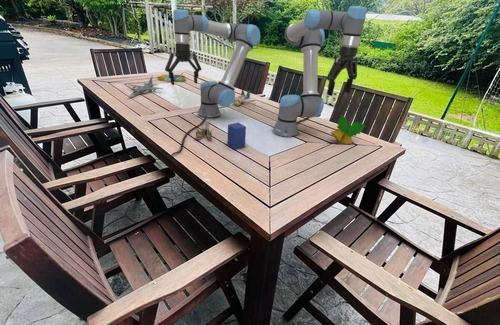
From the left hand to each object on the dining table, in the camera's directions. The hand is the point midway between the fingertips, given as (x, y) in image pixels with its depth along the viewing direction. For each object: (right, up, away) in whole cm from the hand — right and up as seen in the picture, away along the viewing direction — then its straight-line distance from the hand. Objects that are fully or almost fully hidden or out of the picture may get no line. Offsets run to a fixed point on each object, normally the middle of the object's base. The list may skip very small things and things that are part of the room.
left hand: (184, 83), depth 148 cm
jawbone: (+11, -30, +5) cm, 32 cm away
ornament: (+96, -32, +13) cm, 102 cm away
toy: (+30, +7, +73) cm, 79 cm away
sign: (-46, +45, +130) cm, 145 cm away
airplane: (-55, +16, +78) cm, 97 cm away
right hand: (+81, -11, -21) cm, 84 cm away
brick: (+30, -35, -3) cm, 46 cm away
